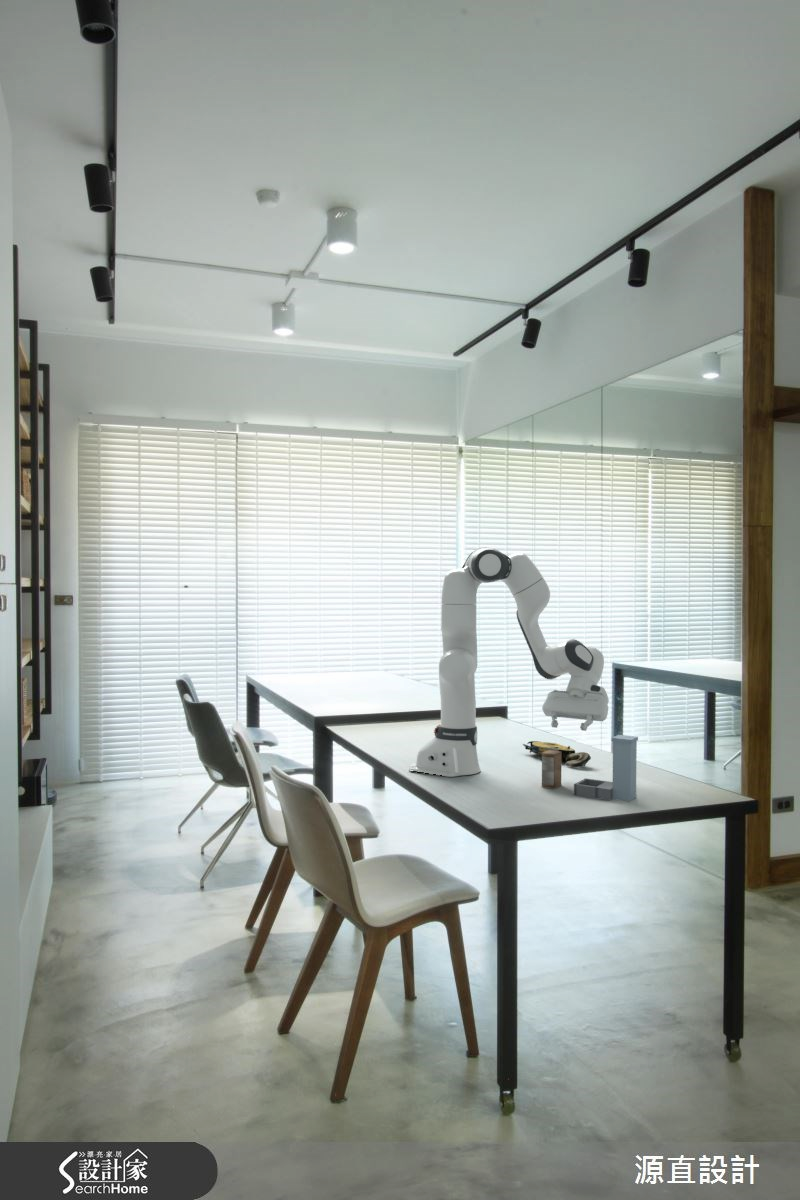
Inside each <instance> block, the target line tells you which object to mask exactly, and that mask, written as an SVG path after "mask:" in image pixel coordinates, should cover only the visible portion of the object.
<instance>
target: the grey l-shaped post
mask: <svg viewBox="0 0 800 1200" xmlns="http://www.w3.org/2000/svg"><path fill="white" fill-rule="evenodd" d="M638 741H639V736H635V735H624V734H617V735H615V736H612V737H611V742H612V781H609V780H608V781H607V780H599V779H595V778H594V779H592V778H583V779H581V780H579V781H577V782H575V783H573V795H574V796H579V797H585V796H586V797H585V798H593V799H598V798H599V799H600V800H605V799H606V800H607V801H612V800H616V799H618V800H617V801H623V800H625V801H624V802H632V801H634V800H635V799H636V798H637V754H638V753H637V745H638V744H637V742H638ZM634 798H635V799H634ZM599 799H598V800H599ZM631 800H632V801H631Z"/></svg>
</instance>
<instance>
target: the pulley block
mask: <svg viewBox="0 0 800 1200" xmlns="http://www.w3.org/2000/svg"><path fill="white" fill-rule="evenodd" d="M522 746H523V747H524V748H525V750H528V751H529V753H530V754H532V753H533V754H536V755H537V756H540V757H542V753H543V752H545V751H548V750H553V751H561V752H562V756H561V764H562V763H563V764H565V766H569V767H571V768H580V767H582V766H583V767H586V764H587V763H588V762H589V761H590V760H591V759H592V756H591V755H590V754H589V753H588V752H585V751H582V752H581V751H580V752H579V751H578V752H576V750H575V749H574V748H572V747H571V746H570V745H568V746H565V745H563V744H559V743H556V742H547V741H546V742H545V741H538V740H537V741H535V740H533V741H532V740H529V741H528V742H527V744H525V743H522Z"/></svg>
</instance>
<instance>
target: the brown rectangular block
mask: <svg viewBox="0 0 800 1200" xmlns="http://www.w3.org/2000/svg"><path fill="white" fill-rule="evenodd" d="M561 756H562V752H561V751H553V750H548V751H545V752H543V753H542V756H541V788H548V789H554V790H555V789H557V788H559V787H561V786H562V762H561Z"/></svg>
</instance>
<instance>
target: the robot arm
mask: <svg viewBox="0 0 800 1200" xmlns="http://www.w3.org/2000/svg"><path fill="white" fill-rule="evenodd" d="M497 581H502V582H503V583H504V584H505V585H506V586H507V587H508V589H509V591H510V592H511V595H512V596H513V598H514V601H515V604H516V607H517V610H516V620H517V622H518V625H519V628H520V630H521V633H522V635H523V637H524V640H525V642H526V644H527V646H528V648H529V651H530V653H531V654H530V655H531V656H532V660H533V663H534V668H535V671H536V672H537V673H538V674H539V675H540V676H541V677H543V678H544V679H546V680H554V679H556V678H558V677H561V676H562V675H565V674H566V675H567V674H569V675H570V679H569V681H568V684H567V685H566V686H567V687H566V690H558V689H557V690H556V689H554V690H553V691H549V693H548V694H547V696H546V699H545V700H544V702H543V704H542V707H541V709H542V711H543V714H544V716H545V717H551V720H552V721H551V722H550V723H551V724H550V725H551V728H556V729H558V726H559V722H558V720H557V719H558V718H561V719H563V718H564V719H572V720H573V719H574V720H585V722H581V724H580V726H579V727H580V730H581V731H585V732H587V729H588V727H589V726H591V725H592V724H593V722H594V721H595V722H604V721H605V720H606V719H607V718H608V715H609V706H608V704H609V701H610V700H609V696H608V695H609V694H608V693H607V691H606V689H605V688H604V687H603V686H600V685H598V683H599V681H600V680H601V678H602V675H603V671H604V666H605V659H604V655H603V653H602V652H601V651H600V649H597V648H596V647H592V646H586V645H584V644H583V643H582V642H581V641H579V640H577V639H575V638H574V639H569V640H565V641H562V642H560V643H558V644H555V645H552V646H550V645H548V643H547V642H546V639H545V638H544V635H543V633H542V630H541V628H540V626H539V617H540V615H541V613H542V612H543V611H544V610H545V608H547V606H548V604H549V602H550V598H551V591H550V588H549V585H548V583H547V581H546V580H545V578H544V576H543V575H542V573H541V572H540V570H539V569H538V567H537V566H536V565H535V564H534V562H533V560H531V559H530V557H529V556H528V555H526V554H525V553H523V552H516V553H512V554H510V555H506V554H504V553H503V552H501V551H500V550H498V549H496V548H492V547H479V548H477V549H475V550H474V551H472V552H471V553H470V554H469V555H468V557H467V558H466V559H465V561H464V564H463V565H462V566H461V568H454V569H452V570H448V571H447V573H446V574H445V576H444V579H443V585H442V590H441V606H440V607H441V612H440V613H441V619H440V620H441V621H440V622H441V625H440V626H441V627H440V630H441V639H442V652H443V653H442V656H441V657H440V660H439V662H438V680H439V681H438V682H439V694H440V695H439V697H440V724H438V725H436V727H435V728H434V729H433V733H434V736H435V737H433V738H432V739H431V740H429V741H428V742H427V743H425V744H424V745H423V746H422V747H420V748H419V750H418V752H417V754H416V760H415V762H413V763H411V764H410V765H409V769H410V770H413V771H419V772H424V773H423V774H425V773H429V774H428V775H433V774H436V775H435V776H440V775H442V777H448V778H451V777H452V778H455V777H459V776H469V775H475V774H478V773H480V772H481V770H482V769H481V766H480V763H479V759H478V749H477V745H478V727H477V724H476V722H477V721H476V718H477V717H476V713H477V707H476V706H477V705H476V703H477V700H476V685H475V684H476V683H475V682H476V681H475V673H476V671H477V669H478V637H477V592H478V588H479V586H480V585H481V584H482V583H483V584H488V583H493V582H497ZM410 770H409V771H410Z"/></svg>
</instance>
